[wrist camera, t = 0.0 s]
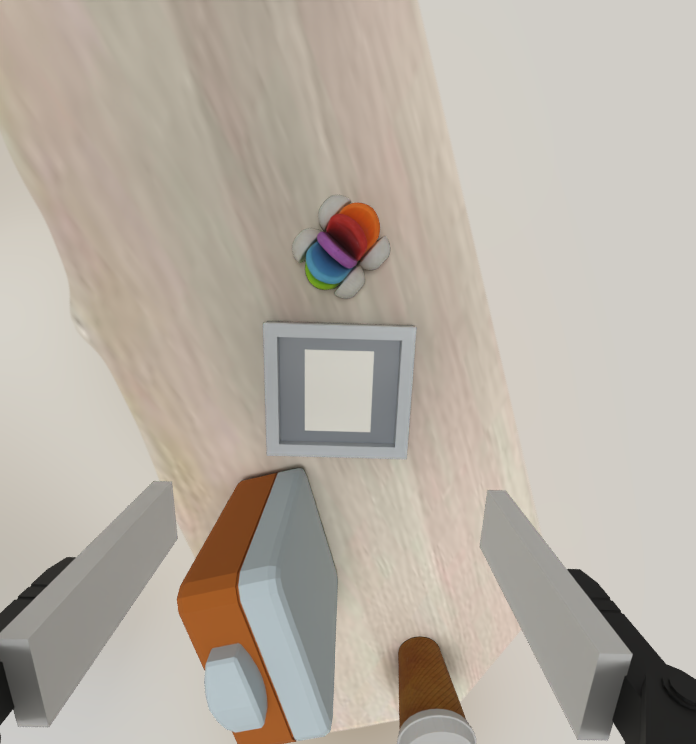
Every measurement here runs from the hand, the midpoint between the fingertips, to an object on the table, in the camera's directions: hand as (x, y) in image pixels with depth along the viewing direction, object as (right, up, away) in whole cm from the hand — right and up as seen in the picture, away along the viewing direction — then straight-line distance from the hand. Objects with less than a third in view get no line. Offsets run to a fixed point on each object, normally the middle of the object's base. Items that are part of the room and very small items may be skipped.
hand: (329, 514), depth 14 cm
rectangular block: (-7, -15, +33) cm, 37 cm away
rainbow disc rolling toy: (0, +20, +24) cm, 31 cm away
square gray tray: (0, +4, +28) cm, 28 cm away
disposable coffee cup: (+11, -36, +38) cm, 54 cm away
